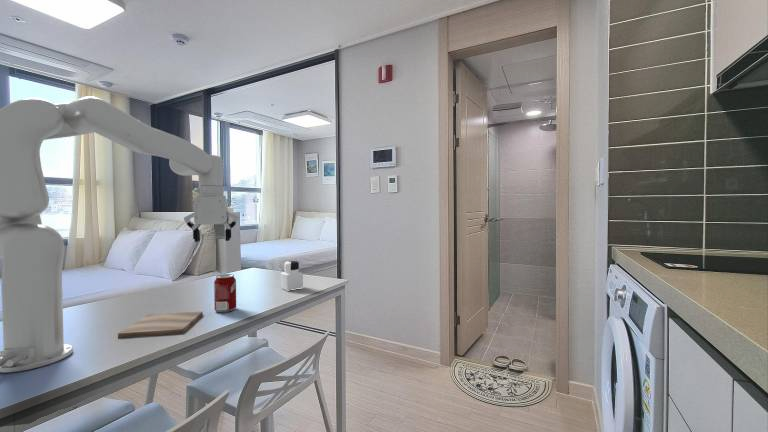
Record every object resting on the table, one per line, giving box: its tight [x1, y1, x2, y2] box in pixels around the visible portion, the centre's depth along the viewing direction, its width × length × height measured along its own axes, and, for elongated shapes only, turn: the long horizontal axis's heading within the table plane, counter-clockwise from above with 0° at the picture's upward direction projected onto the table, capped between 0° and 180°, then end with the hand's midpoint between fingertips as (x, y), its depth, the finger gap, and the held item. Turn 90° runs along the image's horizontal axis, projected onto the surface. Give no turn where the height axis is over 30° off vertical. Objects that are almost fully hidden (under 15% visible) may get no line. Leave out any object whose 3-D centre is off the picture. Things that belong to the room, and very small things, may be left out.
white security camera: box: [280, 260, 304, 290], centre depth 142 cm, size 7×7×12 cm
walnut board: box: [117, 311, 203, 339], centre depth 98 cm, size 16×16×1 cm
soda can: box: [213, 273, 237, 313], centre depth 113 cm, size 7×7×12 cm
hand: (212, 241), depth 113 cm, fingers open, 9 cm apart
